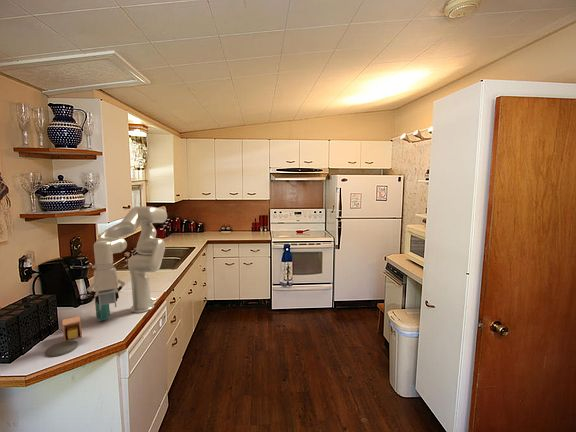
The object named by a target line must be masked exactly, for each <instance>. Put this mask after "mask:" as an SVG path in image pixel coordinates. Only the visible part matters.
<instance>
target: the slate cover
mask: <svg viewBox="0 0 576 432" xmlns="http://www.w3.org/2000/svg"><path fill="white" fill-rule="evenodd" d="M98 296H99V307H100V310H101V305H105V304H109V305H110V304H114V308H117V301H116V295H115V290H114V289H112V290H106V291H100V292H99V293H98Z"/></svg>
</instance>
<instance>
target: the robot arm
mask: <svg viewBox="0 0 576 432" xmlns="http://www.w3.org/2000/svg"><path fill="white" fill-rule="evenodd" d="M167 219H168V212H167V211H166V209H164V208H160V207H155V206H146V205H145V206H135V207H132V208H130V211H129V212H128V213H127V214H126V215H125V216H124V218H123V219H122V220H121V221H120V222H118V223H116V224H114V225H112V226H111V227H108V228H107V229H105V230H104V231H103V232H102V233H101V234H100V235H99V237H98V238H97V239H96V241H95V242H94V244H93V254H94V262H95V263H94V264H93V265H91V269H94V270H93V283H92V284H91V285H90V286H88V287H87V288H86V291H87V292H89V293H90V294H91V295H93V296H94V298H95V297H96V302H98V304H99V296H98V293H99V292H100V291H106V290H112V289H114V290H115V295H116V302H118V300H119V298H120V297H119V295H120V294H119V293H120V291H121V290H122V289H123V287H124V286H125V285H126V283H125V282H124V281H122V280H120V278H118V272H117V268H116V267H114V256H113V255H114V254H118V253H122V252H124V251H126V249H127V247H128V242H127V241H126V239H125V238H122V237H125V236H128V235H130V234H133V233H135V232H136V231H137V229H138V228H139V227H140V229H141V232H140V234H139V237H138V240H137V244H136V252H137V253H138V254H136V255H132V256H130V258H128V261H127V267H128V271H129V275H130V283H131V284H130V285H131V295H132V306H130V309H129V310H130V312H132V313H134V314H135V313H136V314H137V313H145V312H148V311H151V310H153V309H154V307H155V304H154V302H156V301H158V300H159V297H157V296H156V297H151V284H150V276H149V273H157V272H158V271H159V270H160V268H161V266H162V261H163V258H164V255H165V251H166V243H165V240H164V239H162V238H158V237H157V229H156V228H155V226H154V225H153V224H164V223H165V222H167Z"/></svg>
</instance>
